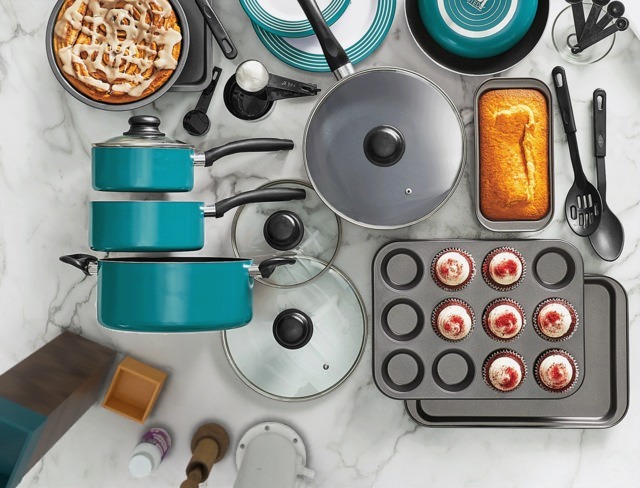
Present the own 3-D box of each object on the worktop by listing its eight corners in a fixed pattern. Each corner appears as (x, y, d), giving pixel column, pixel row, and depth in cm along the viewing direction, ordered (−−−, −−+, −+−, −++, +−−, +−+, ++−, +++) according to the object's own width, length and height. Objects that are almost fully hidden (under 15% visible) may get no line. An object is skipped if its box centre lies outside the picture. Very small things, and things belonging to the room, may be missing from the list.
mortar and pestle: (225, 462, 122) (203, 519, 104) (190, 455, 122) (162, 510, 104) (232, 426, 122) (211, 477, 104) (197, 419, 122) (170, 469, 104)
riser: (117, 351, 122) (46, 416, 94) (95, 401, 123) (19, 481, 95) (66, 329, 122) (-19, 387, 94) (45, 379, 123) (-46, 452, 95)
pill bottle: (177, 436, 122) (162, 462, 113) (162, 461, 123) (146, 489, 113) (151, 420, 122) (134, 445, 113) (136, 445, 123) (118, 472, 113)
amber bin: (167, 374, 122) (160, 383, 118) (150, 414, 122) (142, 425, 118) (127, 356, 122) (118, 364, 118) (110, 396, 122) (100, 406, 118)
